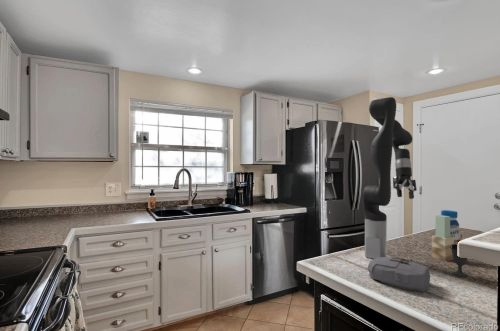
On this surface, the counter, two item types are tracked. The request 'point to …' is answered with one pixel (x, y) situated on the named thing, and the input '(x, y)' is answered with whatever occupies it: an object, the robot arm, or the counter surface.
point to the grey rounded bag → (400, 273)
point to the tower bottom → (442, 254)
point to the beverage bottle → (452, 223)
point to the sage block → (443, 226)
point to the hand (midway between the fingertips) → (405, 197)
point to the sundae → (458, 260)
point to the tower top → (442, 242)
